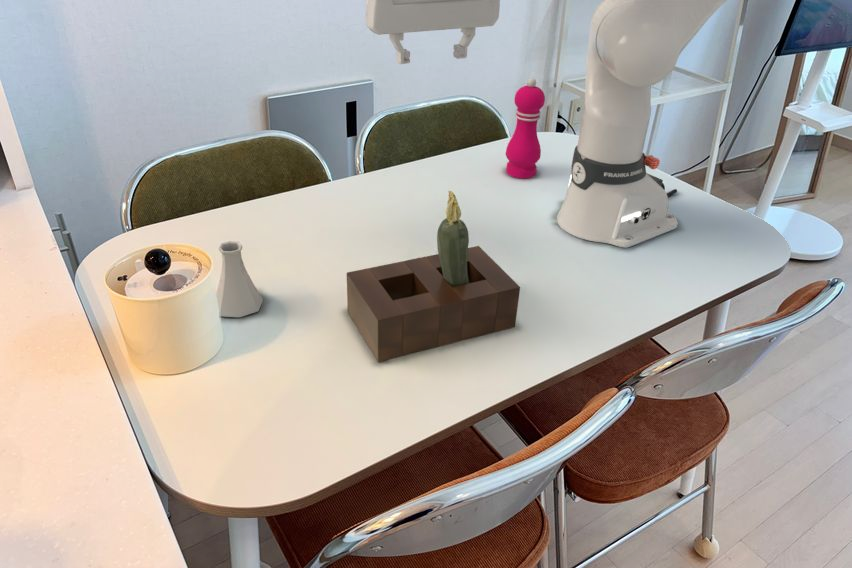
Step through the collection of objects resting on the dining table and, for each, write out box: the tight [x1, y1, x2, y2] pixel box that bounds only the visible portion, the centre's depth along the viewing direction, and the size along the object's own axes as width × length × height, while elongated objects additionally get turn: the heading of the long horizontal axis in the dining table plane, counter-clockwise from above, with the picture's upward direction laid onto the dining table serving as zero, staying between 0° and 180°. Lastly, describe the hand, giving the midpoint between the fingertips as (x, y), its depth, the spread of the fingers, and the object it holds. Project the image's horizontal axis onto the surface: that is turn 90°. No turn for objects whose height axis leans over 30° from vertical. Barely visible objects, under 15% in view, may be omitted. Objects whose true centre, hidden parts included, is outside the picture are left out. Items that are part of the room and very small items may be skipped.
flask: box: [216, 240, 264, 318], centre depth 100 cm, size 7×7×10 cm
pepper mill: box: [505, 77, 546, 180], centre depth 142 cm, size 7×7×20 cm
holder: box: [346, 245, 521, 363], centre depth 100 cm, size 21×12×7 cm, turn 114°
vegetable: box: [436, 190, 470, 287], centre depth 97 cm, size 4×4×20 cm
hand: (431, 60), depth 105 cm, fingers open, 8 cm apart
